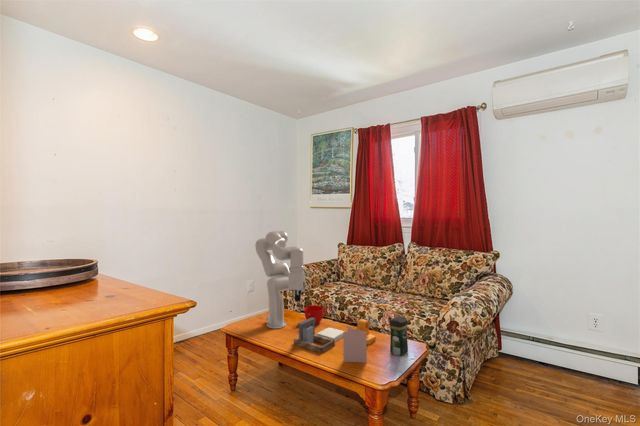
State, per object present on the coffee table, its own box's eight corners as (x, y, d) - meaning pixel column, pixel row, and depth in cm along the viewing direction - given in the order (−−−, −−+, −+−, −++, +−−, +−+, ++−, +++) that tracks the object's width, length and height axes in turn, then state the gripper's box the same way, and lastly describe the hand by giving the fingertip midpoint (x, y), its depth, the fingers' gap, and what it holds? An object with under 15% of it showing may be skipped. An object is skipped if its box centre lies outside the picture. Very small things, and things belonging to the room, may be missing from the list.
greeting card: (367, 361, 158) (367, 331, 158) (359, 367, 153) (358, 336, 152) (349, 355, 166) (348, 326, 165) (340, 360, 160) (339, 330, 160)
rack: (293, 344, 180) (293, 338, 180) (307, 337, 190) (307, 332, 190) (321, 353, 168) (321, 347, 168) (334, 345, 177) (334, 340, 177)
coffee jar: (396, 347, 174) (395, 313, 174) (410, 351, 169) (409, 316, 169) (387, 353, 167) (387, 318, 166) (401, 358, 162) (401, 321, 161)
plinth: (317, 337, 189) (316, 333, 189) (329, 331, 198) (328, 327, 198) (333, 342, 181) (333, 338, 181) (345, 335, 191) (345, 331, 191)
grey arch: (298, 339, 178) (297, 323, 178) (311, 333, 187) (311, 317, 187) (302, 341, 176) (301, 324, 176) (315, 334, 186) (315, 318, 185)
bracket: (364, 346, 176) (364, 324, 176) (354, 342, 181) (354, 321, 181) (376, 340, 183) (376, 319, 183) (366, 337, 189) (366, 316, 188)
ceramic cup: (298, 327, 206) (298, 311, 206) (309, 318, 222) (308, 304, 221) (317, 329, 201) (317, 313, 201) (326, 320, 217) (326, 306, 217)
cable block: (300, 343, 181) (300, 327, 181) (306, 340, 185) (306, 324, 185) (307, 345, 178) (307, 329, 178) (313, 342, 182) (313, 326, 182)
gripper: (283, 269, 187) (283, 300, 187) (302, 271, 178) (303, 304, 178) (291, 267, 193) (292, 297, 193) (311, 269, 184) (311, 301, 184)
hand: (297, 301), depth 185 cm, fingers closed
